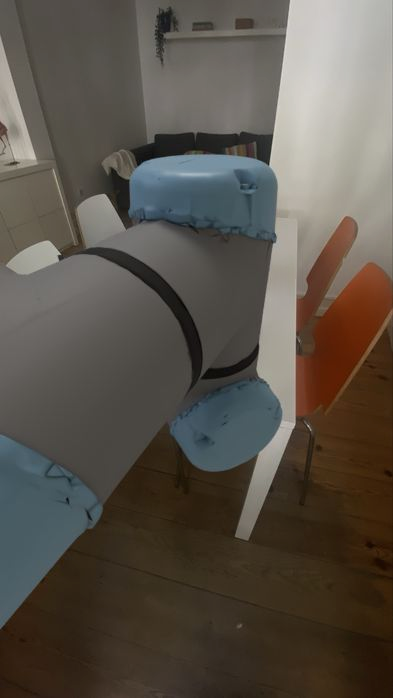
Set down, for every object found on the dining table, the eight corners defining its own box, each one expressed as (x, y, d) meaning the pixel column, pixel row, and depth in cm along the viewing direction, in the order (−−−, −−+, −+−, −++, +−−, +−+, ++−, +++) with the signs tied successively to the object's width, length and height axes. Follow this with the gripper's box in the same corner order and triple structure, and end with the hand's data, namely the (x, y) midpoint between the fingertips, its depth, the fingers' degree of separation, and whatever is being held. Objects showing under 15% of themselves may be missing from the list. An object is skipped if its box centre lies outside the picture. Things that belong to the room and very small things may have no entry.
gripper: (41, 393, 30) (28, 296, 45) (260, 326, 38) (187, 263, 54) (11, 327, 25) (8, 244, 41) (267, 267, 34) (186, 217, 49)
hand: (110, 255), depth 47 cm, fingers open, 13 cm apart
